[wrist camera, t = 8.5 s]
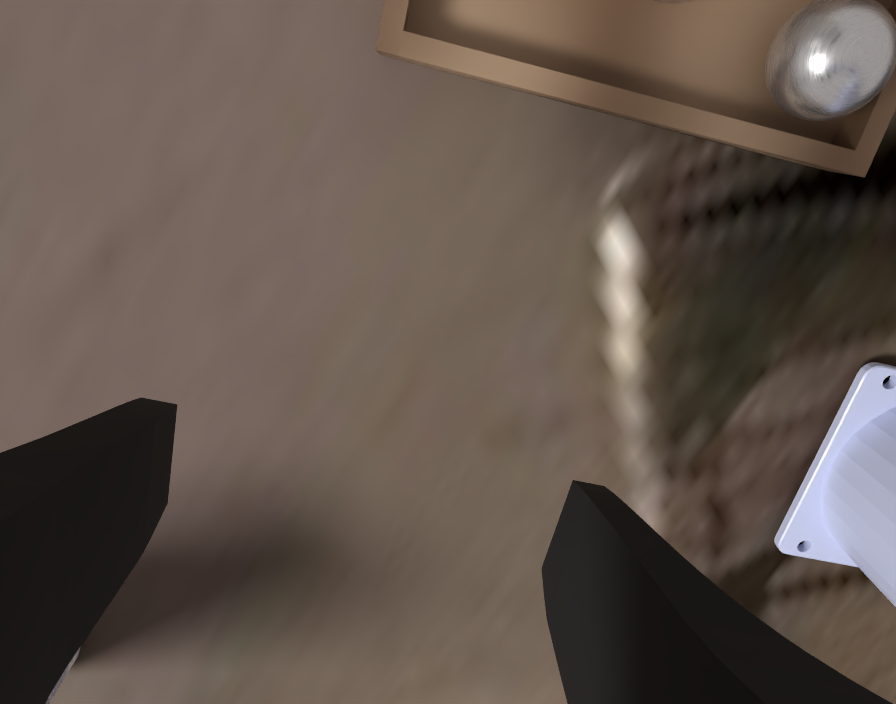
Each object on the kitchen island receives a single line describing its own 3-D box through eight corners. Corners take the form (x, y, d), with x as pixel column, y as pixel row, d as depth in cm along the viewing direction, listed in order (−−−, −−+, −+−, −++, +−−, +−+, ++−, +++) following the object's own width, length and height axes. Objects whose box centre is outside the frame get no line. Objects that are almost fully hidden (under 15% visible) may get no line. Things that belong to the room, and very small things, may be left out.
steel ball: (870, 18, 18) (953, 3, 15) (823, 130, 19) (892, 136, 16) (770, -11, 17) (836, -32, 15) (728, 105, 19) (782, 106, 16)
